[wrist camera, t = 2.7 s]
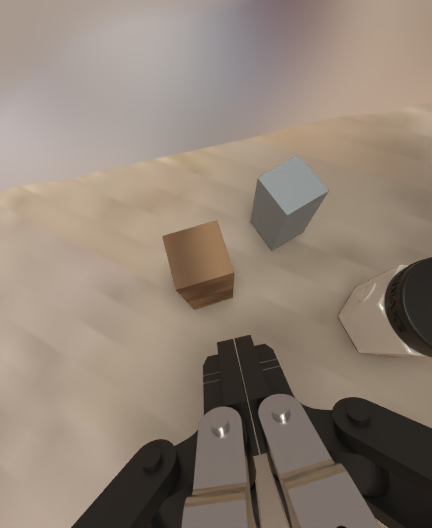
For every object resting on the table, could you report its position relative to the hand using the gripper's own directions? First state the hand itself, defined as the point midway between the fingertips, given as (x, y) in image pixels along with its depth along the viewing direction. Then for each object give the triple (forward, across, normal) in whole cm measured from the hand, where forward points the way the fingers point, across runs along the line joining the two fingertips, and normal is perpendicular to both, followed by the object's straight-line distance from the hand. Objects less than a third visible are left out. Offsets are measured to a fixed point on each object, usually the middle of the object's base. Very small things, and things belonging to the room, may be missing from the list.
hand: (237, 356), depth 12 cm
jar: (+18, -17, +12) cm, 27 cm away
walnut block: (+22, +2, +5) cm, 23 cm away
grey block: (+26, -9, 0) cm, 27 cm away
